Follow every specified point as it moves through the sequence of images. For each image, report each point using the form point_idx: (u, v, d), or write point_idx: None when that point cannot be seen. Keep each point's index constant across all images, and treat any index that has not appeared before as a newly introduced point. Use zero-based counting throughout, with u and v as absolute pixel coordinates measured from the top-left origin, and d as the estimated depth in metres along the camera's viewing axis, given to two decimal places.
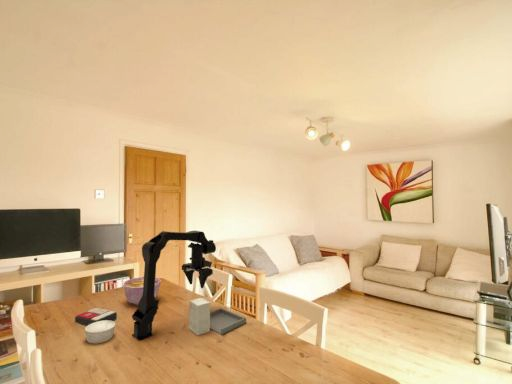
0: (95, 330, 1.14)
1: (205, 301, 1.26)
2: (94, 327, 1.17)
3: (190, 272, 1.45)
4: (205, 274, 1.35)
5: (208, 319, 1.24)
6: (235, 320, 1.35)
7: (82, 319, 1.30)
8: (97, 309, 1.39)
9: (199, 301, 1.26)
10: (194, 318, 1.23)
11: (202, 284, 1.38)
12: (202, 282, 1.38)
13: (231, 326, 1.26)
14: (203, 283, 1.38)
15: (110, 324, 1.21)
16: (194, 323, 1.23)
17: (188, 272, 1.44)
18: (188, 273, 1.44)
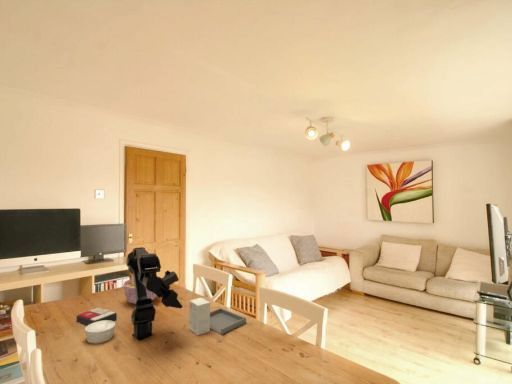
0: (95, 330, 1.14)
1: (205, 301, 1.26)
2: (94, 327, 1.17)
3: None
4: (167, 304, 1.10)
5: (208, 319, 1.24)
6: (235, 320, 1.35)
7: (82, 319, 1.30)
8: (99, 309, 1.39)
9: (199, 301, 1.26)
10: (194, 318, 1.23)
11: (177, 306, 1.16)
12: (175, 305, 1.15)
13: (231, 326, 1.26)
14: (178, 304, 1.16)
15: (110, 324, 1.21)
16: (194, 323, 1.23)
17: None
18: (163, 295, 1.23)
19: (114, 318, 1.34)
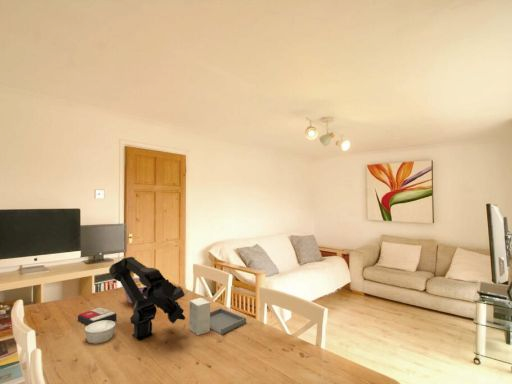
0: (95, 330, 1.14)
1: (205, 301, 1.26)
2: (94, 327, 1.17)
3: None
4: (173, 320, 1.11)
5: (208, 319, 1.24)
6: (235, 320, 1.35)
7: (83, 318, 1.31)
8: (100, 309, 1.39)
9: (199, 301, 1.26)
10: (194, 318, 1.23)
11: (181, 317, 1.21)
12: (178, 317, 1.20)
13: (231, 326, 1.26)
14: (181, 316, 1.21)
15: (110, 324, 1.21)
16: (194, 323, 1.23)
17: None
18: None
19: (114, 319, 1.33)
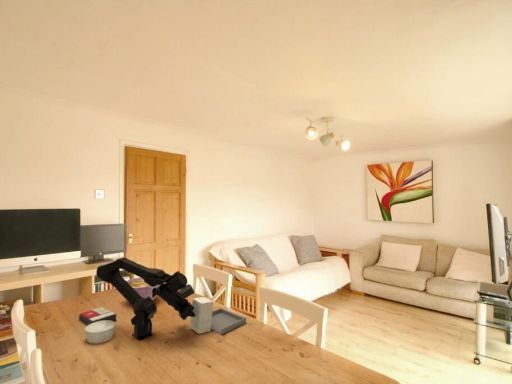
0: (95, 330, 1.14)
1: (208, 300, 1.27)
2: (94, 327, 1.17)
3: None
4: (184, 317, 1.13)
5: (209, 318, 1.25)
6: (235, 320, 1.35)
7: (83, 318, 1.31)
8: (101, 309, 1.40)
9: (202, 300, 1.27)
10: (196, 316, 1.24)
11: (191, 315, 1.23)
12: (189, 314, 1.22)
13: (231, 326, 1.26)
14: (191, 313, 1.23)
15: (110, 324, 1.21)
16: (196, 321, 1.24)
17: None
18: None
19: (113, 319, 1.33)
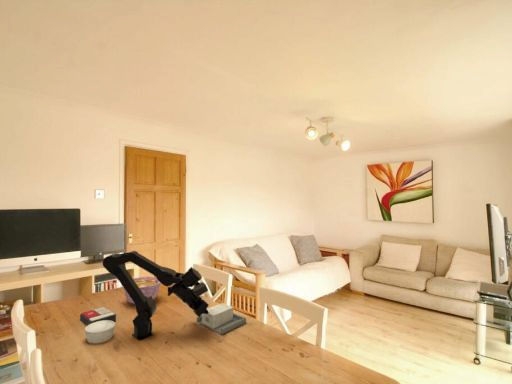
0: (95, 330, 1.14)
1: None
2: (94, 327, 1.17)
3: None
4: (199, 314, 1.17)
5: (222, 322, 1.30)
6: (235, 320, 1.35)
7: (83, 318, 1.31)
8: (102, 309, 1.40)
9: None
10: (219, 309, 1.32)
11: (204, 312, 1.26)
12: None
13: (231, 326, 1.26)
14: (205, 310, 1.26)
15: (110, 324, 1.21)
16: (215, 310, 1.31)
17: None
18: None
19: (113, 320, 1.32)
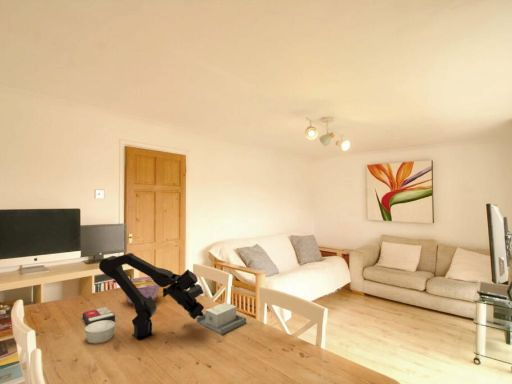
0: (95, 330, 1.14)
1: None
2: (94, 327, 1.17)
3: None
4: (195, 316, 1.16)
5: (225, 322, 1.31)
6: (235, 320, 1.35)
7: (84, 317, 1.32)
8: (104, 309, 1.40)
9: None
10: (222, 308, 1.33)
11: (199, 314, 1.26)
12: None
13: (231, 326, 1.26)
14: (199, 312, 1.25)
15: (110, 324, 1.21)
16: (218, 310, 1.32)
17: None
18: None
19: (112, 320, 1.31)
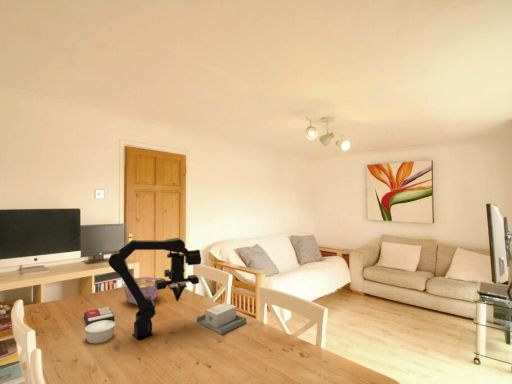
0: (95, 330, 1.14)
1: None
2: (94, 327, 1.17)
3: None
4: None
5: (225, 321, 1.31)
6: (235, 320, 1.35)
7: (85, 316, 1.32)
8: (106, 309, 1.40)
9: None
10: (222, 308, 1.33)
11: None
12: None
13: (231, 326, 1.26)
14: None
15: (110, 324, 1.21)
16: (218, 310, 1.32)
17: None
18: None
19: None
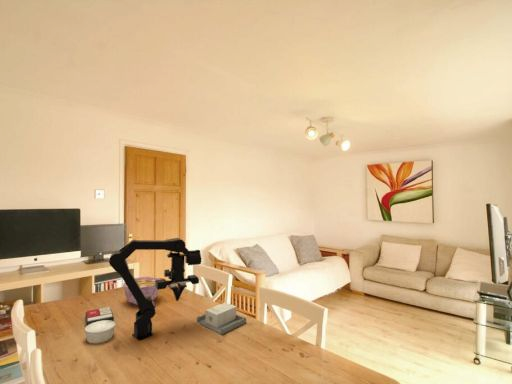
0: (95, 330, 1.14)
1: None
2: (94, 327, 1.17)
3: None
4: None
5: (225, 321, 1.31)
6: (235, 320, 1.35)
7: None
8: (107, 309, 1.40)
9: None
10: (222, 308, 1.33)
11: None
12: None
13: (231, 326, 1.26)
14: None
15: (110, 324, 1.21)
16: (218, 310, 1.32)
17: None
18: None
19: None
